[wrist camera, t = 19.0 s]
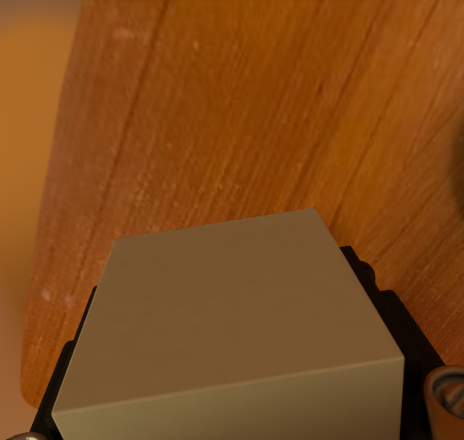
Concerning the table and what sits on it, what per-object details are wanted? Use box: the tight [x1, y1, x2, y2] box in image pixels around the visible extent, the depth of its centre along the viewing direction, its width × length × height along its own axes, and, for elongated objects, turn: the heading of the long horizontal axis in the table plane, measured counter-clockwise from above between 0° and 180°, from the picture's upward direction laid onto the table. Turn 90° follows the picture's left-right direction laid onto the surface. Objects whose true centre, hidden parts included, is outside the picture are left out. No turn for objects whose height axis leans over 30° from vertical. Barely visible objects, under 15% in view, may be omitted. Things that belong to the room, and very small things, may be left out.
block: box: [52, 208, 404, 440], centre depth 9 cm, size 5×5×5 cm
